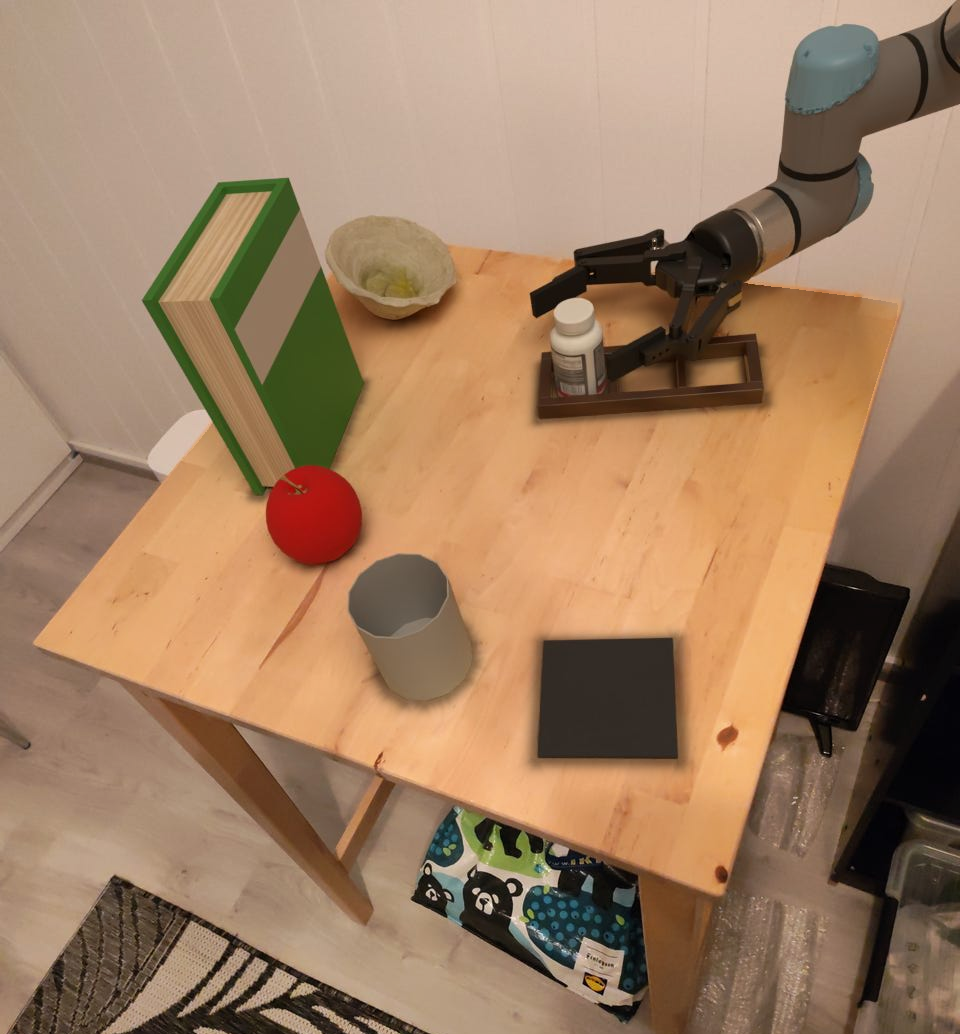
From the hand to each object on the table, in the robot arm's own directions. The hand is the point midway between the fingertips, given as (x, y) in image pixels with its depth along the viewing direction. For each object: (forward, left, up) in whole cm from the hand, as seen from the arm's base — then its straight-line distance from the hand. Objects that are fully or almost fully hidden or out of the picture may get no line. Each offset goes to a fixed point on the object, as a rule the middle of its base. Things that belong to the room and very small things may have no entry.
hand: (568, 336), depth 84 cm
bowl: (+21, -17, -7) cm, 28 cm away
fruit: (+24, +20, -7) cm, 32 cm away
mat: (-4, +38, -7) cm, 38 cm away
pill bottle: (-1, 0, -7) cm, 7 cm away
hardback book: (+29, +4, -7) cm, 30 cm away
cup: (+12, +34, -7) cm, 37 cm away
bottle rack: (-8, 0, -7) cm, 10 cm away
